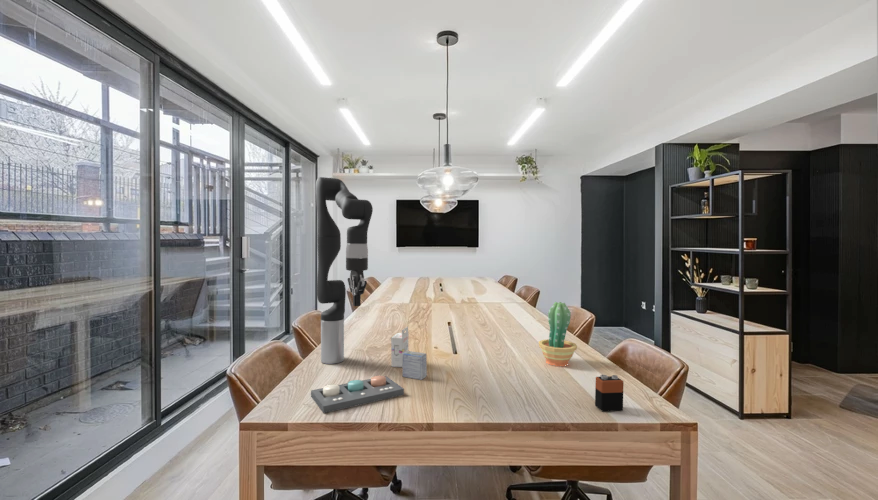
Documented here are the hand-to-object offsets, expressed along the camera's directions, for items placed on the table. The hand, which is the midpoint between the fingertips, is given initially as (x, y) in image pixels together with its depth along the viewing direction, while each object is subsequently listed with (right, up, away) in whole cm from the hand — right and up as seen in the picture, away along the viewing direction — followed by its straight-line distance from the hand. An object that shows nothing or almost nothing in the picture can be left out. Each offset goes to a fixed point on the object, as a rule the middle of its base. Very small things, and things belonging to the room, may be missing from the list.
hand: (356, 305), depth 137 cm
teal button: (+2, -27, -10) cm, 28 cm away
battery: (+80, -28, -20) cm, 87 cm away
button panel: (+3, -27, -12) cm, 30 cm away
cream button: (-5, -27, -14) cm, 31 cm away
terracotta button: (+8, -26, -6) cm, 28 cm away
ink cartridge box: (+13, -27, +21) cm, 36 cm away
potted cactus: (+77, -27, +24) cm, 85 cm away
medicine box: (+20, -27, +6) cm, 34 cm away
